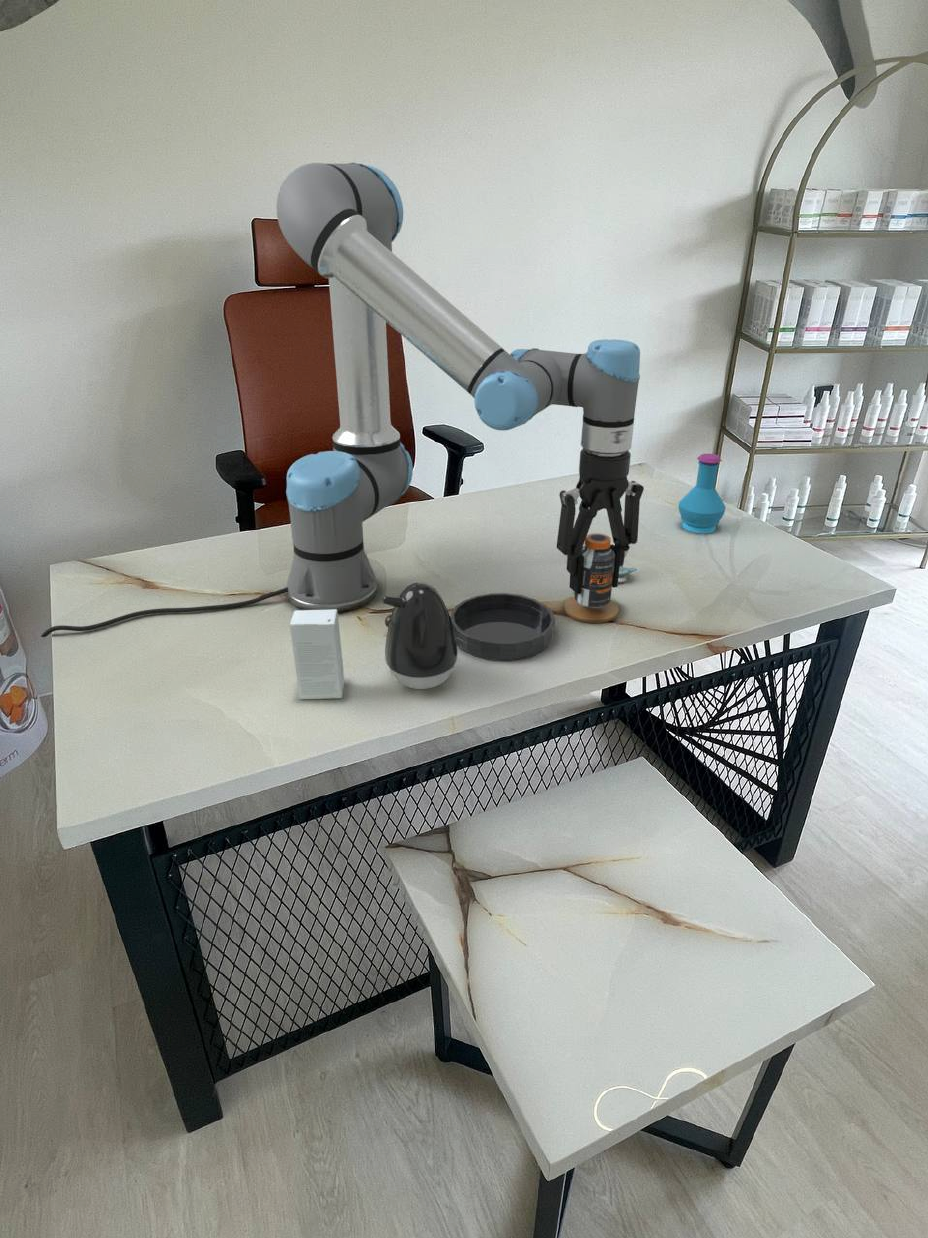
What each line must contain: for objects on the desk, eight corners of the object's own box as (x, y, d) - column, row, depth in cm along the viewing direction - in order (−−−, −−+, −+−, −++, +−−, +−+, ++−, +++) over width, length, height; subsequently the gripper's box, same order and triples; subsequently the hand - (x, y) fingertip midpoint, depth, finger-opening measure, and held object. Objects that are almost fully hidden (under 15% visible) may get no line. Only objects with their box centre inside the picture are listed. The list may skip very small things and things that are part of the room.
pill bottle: (588, 611, 129) (594, 547, 124) (567, 597, 134) (571, 534, 128) (617, 603, 132) (624, 540, 126) (595, 589, 136) (601, 527, 131)
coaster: (579, 627, 129) (580, 624, 128) (554, 602, 136) (555, 599, 136) (628, 617, 131) (629, 614, 131) (601, 594, 139) (601, 590, 139)
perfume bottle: (667, 521, 168) (676, 451, 160) (706, 516, 170) (717, 447, 163) (691, 538, 160) (702, 465, 153) (731, 532, 162) (743, 461, 155)
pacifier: (617, 588, 141) (640, 578, 144) (620, 556, 138) (643, 546, 141) (587, 574, 146) (609, 564, 149) (589, 542, 143) (612, 533, 146)
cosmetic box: (345, 682, 115) (338, 608, 109) (342, 699, 111) (335, 624, 105) (302, 683, 114) (293, 609, 109) (297, 700, 111) (288, 624, 105)
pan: (472, 669, 118) (472, 651, 116) (436, 618, 131) (436, 602, 130) (571, 649, 123) (572, 632, 121) (527, 602, 136) (528, 586, 135)
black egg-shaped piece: (375, 669, 118) (369, 576, 110) (441, 654, 121) (439, 563, 114) (399, 706, 109) (394, 608, 102) (468, 689, 113) (469, 593, 106)
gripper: (560, 463, 114) (551, 606, 126) (673, 449, 120) (655, 587, 132) (537, 448, 121) (531, 586, 132) (646, 436, 126) (631, 569, 138)
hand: (593, 586), depth 132 cm, fingers closed on pill bottle, 6 cm apart
